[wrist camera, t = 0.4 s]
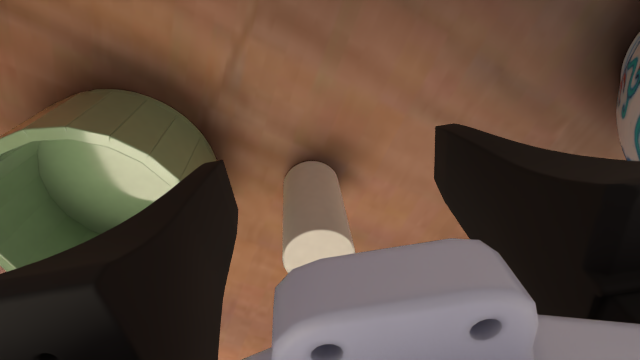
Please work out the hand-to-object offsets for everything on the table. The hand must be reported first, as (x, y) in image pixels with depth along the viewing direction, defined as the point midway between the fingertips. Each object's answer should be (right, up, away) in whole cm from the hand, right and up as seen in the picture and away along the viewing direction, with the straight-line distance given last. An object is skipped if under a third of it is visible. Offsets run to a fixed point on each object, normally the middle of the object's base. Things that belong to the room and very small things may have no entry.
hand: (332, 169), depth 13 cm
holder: (-12, 0, +10) cm, 16 cm away
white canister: (-1, -1, +12) cm, 12 cm away
